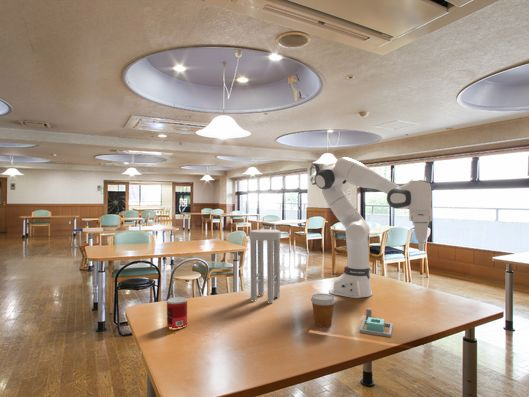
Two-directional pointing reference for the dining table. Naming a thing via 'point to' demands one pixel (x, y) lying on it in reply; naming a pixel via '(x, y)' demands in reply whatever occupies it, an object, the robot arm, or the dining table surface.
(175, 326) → the canned food
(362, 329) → the tray
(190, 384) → the dining table surface
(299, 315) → the dining table surface
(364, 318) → the stake
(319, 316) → the disposable coffee cup
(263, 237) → the stool
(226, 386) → the dining table surface
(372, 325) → the ring
